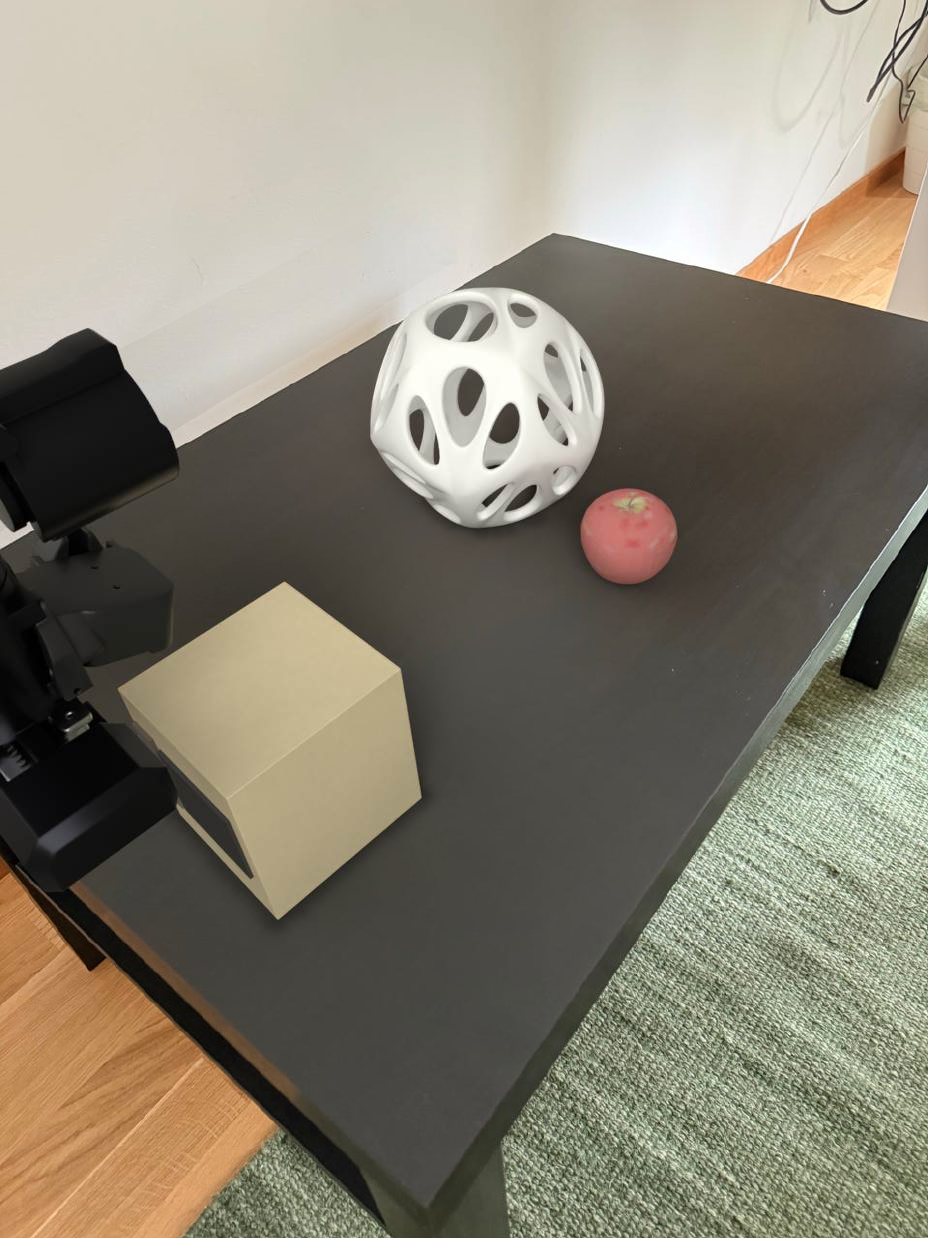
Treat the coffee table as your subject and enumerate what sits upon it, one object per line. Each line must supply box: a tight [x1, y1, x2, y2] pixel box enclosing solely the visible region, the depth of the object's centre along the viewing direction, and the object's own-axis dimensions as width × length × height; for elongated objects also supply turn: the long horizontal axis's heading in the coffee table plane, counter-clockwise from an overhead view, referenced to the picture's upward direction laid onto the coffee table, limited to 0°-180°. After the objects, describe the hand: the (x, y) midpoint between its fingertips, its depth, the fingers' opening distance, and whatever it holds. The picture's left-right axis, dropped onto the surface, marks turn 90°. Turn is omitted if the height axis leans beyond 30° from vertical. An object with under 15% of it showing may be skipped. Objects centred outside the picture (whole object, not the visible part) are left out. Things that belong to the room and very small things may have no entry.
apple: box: [580, 488, 678, 585], centre depth 73 cm, size 7×7×8 cm
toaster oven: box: [117, 581, 422, 921], centre depth 57 cm, size 12×11×13 cm
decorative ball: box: [369, 287, 606, 529], centre depth 79 cm, size 20×20×17 cm
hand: (74, 814), depth 47 cm, fingers closed
